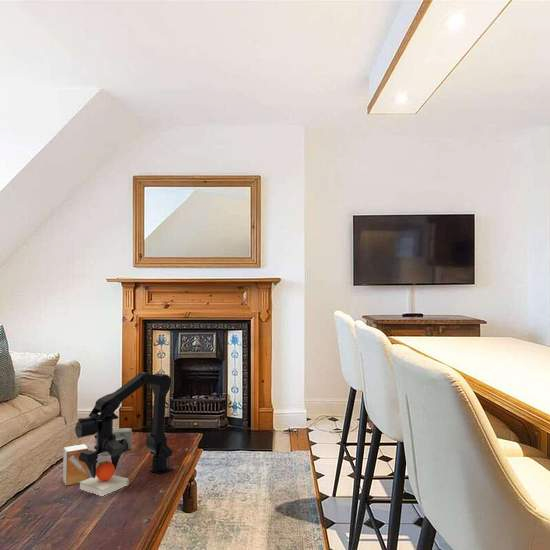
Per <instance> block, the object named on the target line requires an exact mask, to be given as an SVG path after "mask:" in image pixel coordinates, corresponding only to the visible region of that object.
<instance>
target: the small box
mask: <svg viewBox="0 0 550 550" xmlns="http://www.w3.org/2000/svg"><path fill="white" fill-rule="evenodd" d="M87 450H89V447H88V446H87V445H86V443H83V444H77V445H71V446H65V447H63V457H62V458H63V464H62V465H63V466H62V481H63V483H64V485H65V486H66V485H67V486H70V485H75V484H80V482H81V481H84V480H86V479H89V478H88V474H89V469H88V467H87V465H86V464H85V462H82V461H80V460H79V454H80V453H81V452H84V451H87Z"/></svg>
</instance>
